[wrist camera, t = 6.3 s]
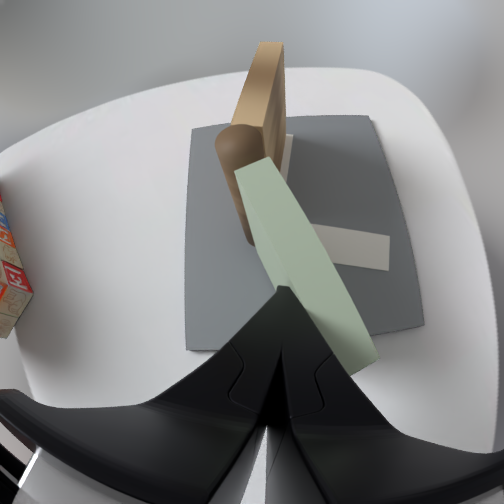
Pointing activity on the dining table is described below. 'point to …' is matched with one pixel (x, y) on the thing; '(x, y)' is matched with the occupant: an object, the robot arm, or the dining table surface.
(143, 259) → the dining table surface
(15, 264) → the stack of blocks
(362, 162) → the board
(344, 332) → the fence hinged panel
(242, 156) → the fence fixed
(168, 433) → the robot arm
